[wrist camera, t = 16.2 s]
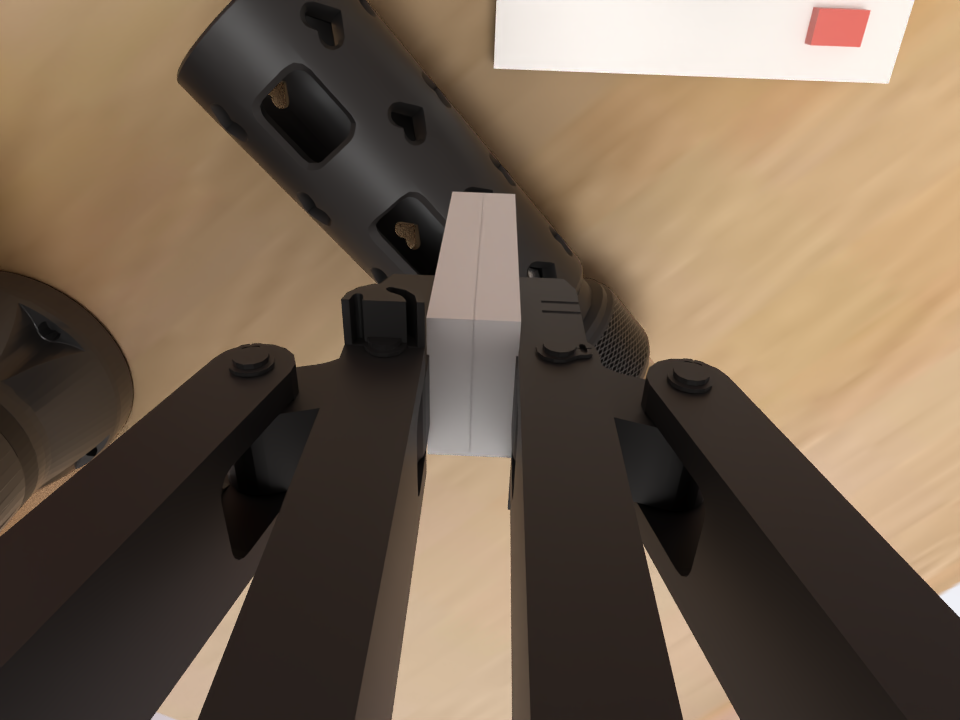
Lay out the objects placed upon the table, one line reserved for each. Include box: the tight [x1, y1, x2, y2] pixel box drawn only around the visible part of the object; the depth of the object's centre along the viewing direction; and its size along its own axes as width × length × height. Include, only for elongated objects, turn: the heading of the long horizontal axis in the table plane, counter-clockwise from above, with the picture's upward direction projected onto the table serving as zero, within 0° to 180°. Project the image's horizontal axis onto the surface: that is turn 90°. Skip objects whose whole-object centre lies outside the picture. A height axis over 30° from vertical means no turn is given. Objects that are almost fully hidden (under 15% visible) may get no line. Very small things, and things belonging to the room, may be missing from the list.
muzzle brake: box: [177, 0, 654, 379], centre depth 37 cm, size 10×28×10 cm, turn 40°
